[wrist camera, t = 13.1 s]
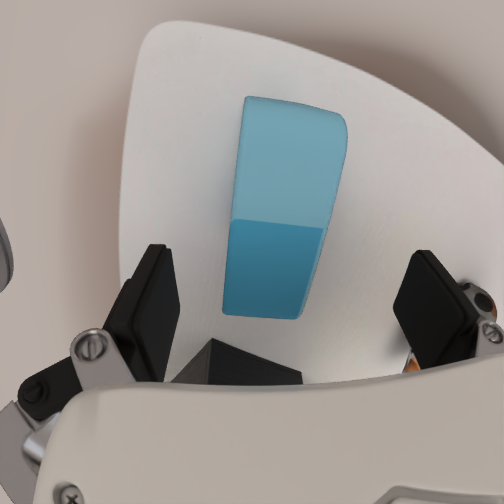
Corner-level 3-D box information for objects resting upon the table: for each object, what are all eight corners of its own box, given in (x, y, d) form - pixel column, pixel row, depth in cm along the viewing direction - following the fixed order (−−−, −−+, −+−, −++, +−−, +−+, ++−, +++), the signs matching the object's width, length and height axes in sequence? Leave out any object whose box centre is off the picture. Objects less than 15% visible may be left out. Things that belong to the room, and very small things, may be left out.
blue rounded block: (245, 95, 20) (244, 98, 10) (301, 103, 20) (355, 118, 10) (229, 229, 26) (220, 326, 16) (278, 234, 27) (297, 331, 16)
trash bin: (161, 391, 42) (151, 448, 32) (212, 337, 34) (205, 415, 25) (236, 415, 46) (236, 467, 37) (301, 372, 39) (311, 437, 30)
